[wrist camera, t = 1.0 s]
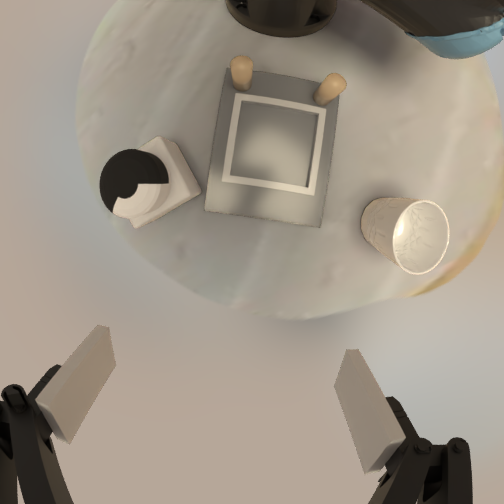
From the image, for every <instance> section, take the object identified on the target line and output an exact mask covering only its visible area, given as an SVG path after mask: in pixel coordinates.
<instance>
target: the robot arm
mask: <svg viewBox="0 0 504 504" xmlns="http://www.w3.org/2000/svg"><path fill="white" fill-rule="evenodd" d="M360 1H362V2H363V3H365V4H367V5H368V6H370V7H371V8H373V9H374V10H376V11H377V12H379V13H380V14H382V15H383V16H385V17H386V18H388V19H389V20H390V21H392V22H393V23H395V24H396V25H397V26H399V27H400V28H401V29H403V30H404V32H405V33H406V34H407V35H408V36H410V37H412V38H414V39H416V40H418V41H419V42H420V43H421V44H423V45H424V46H425V47H426V48H428V49H429V50H430V51H431V52H433V53H434V54H436V55H438V56H440V57H444V58H449V59H464V58H469V57H473V56H476V55H478V54H481V53H483V52H485V51H487V50H489V49H491V48H493V47H494V46H496V45H497V44H498V43H500V42H501V41H502V40H503V38H502V36H504V0H360ZM226 4H227V7H228V10H229V11H230V13H231V14H232V16H233V17H234V18H235V19H236V20H237V21H239V22H240V23H241V24H243V25H244V26H246V27H248V28H250V29H252V30H254V31H257V32H260V33H263V34H267V35H272V36H278V37H298V36H304V35H308V34H312V33H314V32H316V31H318V30H320V29H322V28H323V27H324V26H326V25H327V24H328V22H329V21H330V19H331V18H332V16H333V14H334V12H335V10H336V6H337V0H226ZM115 366H116V362H115V358H114V353H113V348H112V342H111V336H110V330H109V327H105V326H100V325H97V326H96V327H95V328H94V330H93V331H92V332H91V333H90V334H89V335H88V337H86V339H85V340H84V341H83V342H82V343H81V344H80V345H79V347H78V348H77V349H76V350H75V351H74V352H73V354H72V355H71V356H70V357H69V358H68V359H67V361H66V362H65V363H64V364H63V365H62V366H60V365H55V366H53V367H52V368H50V369H49V370H48V371H47V372H46V373H45V375H44V376H43V377H42V378H41V379H40V381H39V382H38V383H37V384H36V385H35V387H34V388H33V389H32V390H31V391H30V393H29V394H28V395H26V393H25V391H24V389H23V388H22V387H21V386H20V385H17V384H12V385H8V386H7V387H5V388H4V389H3V391H2V393H1V396H2V398H3V400H4V401H0V504H18V497H17V476H18V480H19V484H20V488H21V492H22V495H23V499H24V502H25V504H74V503H73V501H72V499H71V496H70V494H69V491H68V489H67V486H66V484H65V481H64V478H63V475H62V472H61V469H60V466H59V463H58V460H57V457H56V453H55V450H54V446H53V443H52V439H51V437H50V435H51V433H52V432H53V433H54V434H55V436H56V438H57V439H59V440H61V441H63V442H66V443H68V444H70V443H71V441H72V440H73V438H74V436H75V434H76V432H77V430H78V429H79V427H80V425H81V423H82V422H83V420H84V418H85V416H86V415H87V413H88V411H89V409H90V408H91V406H92V404H93V402H94V401H95V399H96V397H97V396H98V394H99V392H100V391H101V389H102V387H103V386H104V384H105V382H106V381H107V379H108V378H109V376H110V374H111V372H112V371H113V369H114V368H115ZM334 387H335V390H336V393H337V395H338V398H339V401H340V404H341V407H342V409H343V412H344V415H345V418H346V421H347V424H348V427H349V429H350V432H351V435H352V438H353V441H354V444H355V447H356V450H357V453H358V456H359V459H360V462H361V465H362V468H363V471H364V474H365V475H366V474H370V473H375V472H379V471H380V470H381V469H382V468H383V467H384V466H385V467H386V469H387V471H386V473H385V474H384V475H383V476H382V477H381V478H380V479H379V481H378V482H380V481H381V482H380V484H379V486H378V487H377V489H376V491H375V493H374V494H373V496H372V498H371V500H370V501H369V503H368V504H416V502H417V504H473V496H472V495H473V494H472V471H471V459H470V449H469V445H468V443H467V442H466V441H465V440H464V439H462V438H458V437H456V438H452V439H451V440H450V441H449V442H448V443H447V444H446V445H432V443H431V442H430V441H428V440H427V439H425V438H420V437H419V436H418V434H417V433H416V431H415V429H414V427H413V425H412V423H411V421H410V420H409V418H408V417H407V414H406V413H405V411H404V409H403V407H402V406H401V404H400V402H399V401H397V400H396V399H395V398H394V397H393V396H392V397H385V396H384V394H383V393H382V391H381V389H380V387H379V385H378V383H377V382H376V380H375V378H374V376H373V374H372V373H371V371H370V369H369V367H368V365H367V364H366V362H365V360H364V358H363V356H362V355H361V353H360V351H359V350H358V349H356V350H346V352H345V355H344V358H343V361H342V364H341V367H340V371H339V373H338V377H337V379H336V382H335V385H334ZM417 499H418V501H417Z"/></svg>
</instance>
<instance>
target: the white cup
mask: <svg viewBox="0 0 504 504" xmlns="http://www.w3.org/2000/svg"><path fill="white" fill-rule="evenodd" d="M361 230H362V232H363V235H364V237H365V239H366V240H367V241H368V242H369V243H370V244H371V245H372V246H374V247H375V248H376V249H377V250H378V251H379V252H381V253H382V254H383V255H384V256H386V257H387V258H388V259H390V260H391V261H392V262H394V263H395V264H396V265H398V266H399V267H400V268H402V269H403V270H404V271H406V272H408V273H410V274H414V275H420V274H424V273H427V272H429V271H430V270H432V269H433V268H435V267H436V266H437V265H438V263H439V262H440V261H441V259H442V258H443V256H444V254H445V252H446V249H447V246H448V242H449V224H448V220H447V217H446V215H445V213H444V211H443V210H442V209H441V207H440V206H439V205H437V204H436V203H434V202H432V201H429V200H421V199H410V198H380V199H376V200H373V201H372V202H371V203H370V204H369V205H368V206H367V207H366V208H365V210H364V213H363V215H362V217H361Z"/></svg>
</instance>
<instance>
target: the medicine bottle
mask: <svg viewBox="0 0 504 504" xmlns="http://www.w3.org/2000/svg"><path fill="white" fill-rule="evenodd" d="M201 192H202V190H201V188H200V186H199V184H198V183H197V181H196V179H195V177H194V175H193V173H192V172H191V170H190V168H189V166H188V164H187V162H186V160H185V158H184V157H183V155H182V153H181V151H180V149H179V147H178V145H177V144H176V143H174V142H171V141H169V140H167V139H165V138H163V137H161V136H157V137H155V138H154V139H152V140H151V141H149V142H148V143H146V144H145V145H143V146H142V147H140V148H139V149H127V150H123V151H121V152H118V153H117V154H115V155H114V156H113V157H111V158H110V159H109V161H108V162H107V163H106V165H105V166H104V168H103V171H102V173H101V177H100V193H101V197H102V200H103V202H104V204H105V205H106V207H107V208H108V209H109V210H110V211H111V212H112V213H113V214H115V215H117V216H119V217H122V218H129V220H130V222H131V224H132V226H133V227H134V228H136V229H137V228H140V227H142V226H144V225H146V224H148V223H150V222H152V221H154V220H156V219H158V218H160V217H161V216H163V215H165V214H166V213H168V212H170V211H171V210H173V209H175V208H177V207H178V206H180V205H182V204H183V203H185V202H187V201H189V200H190V199H192V198H194V197H196V196H197V195H199V194H201Z"/></svg>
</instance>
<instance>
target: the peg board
mask: <svg viewBox="0 0 504 504" xmlns="http://www.w3.org/2000/svg"><path fill="white" fill-rule="evenodd" d="M230 67H231V68H227V70H226V75H225V80H224V85H223V90H222V95H221V101H220V106H219V112H218V118H217V124H216V130H215V136H214V142H213V149H212V155H211V162H210V169H209V176H208V183H207V191H206V199H205V207H204V211H209V212H217V213H225V214H232V215H239V216H247V217H254V218H260V219H267V220H274V221H281V222H287V223H294V224H300V225H306V226H312V227H318V228H320V226H321V221H322V215H323V210H324V204H325V198H326V192H327V186H328V180H329V173H330V167H331V160H332V153H333V146H334V138H335V130H336V122H337V113H338V104H339V94H340V93H341V92H342V91H343V90H345V88H346V80H345V79H344V77H343V76H341V75H340V74H337V73H331V74H329V75H328V76H327V77H326V78H325V80H324V81H323V82H322V83H318V82H314V81H310V80H305V79H300V78H295V77H290V76H285V75H279V74H273V73H267V72H260V71H252V70H253V63H252V60H251V59H250V58H249V57H247V56H237V57H235V58H234V59H232V61H231V63H230Z"/></svg>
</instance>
